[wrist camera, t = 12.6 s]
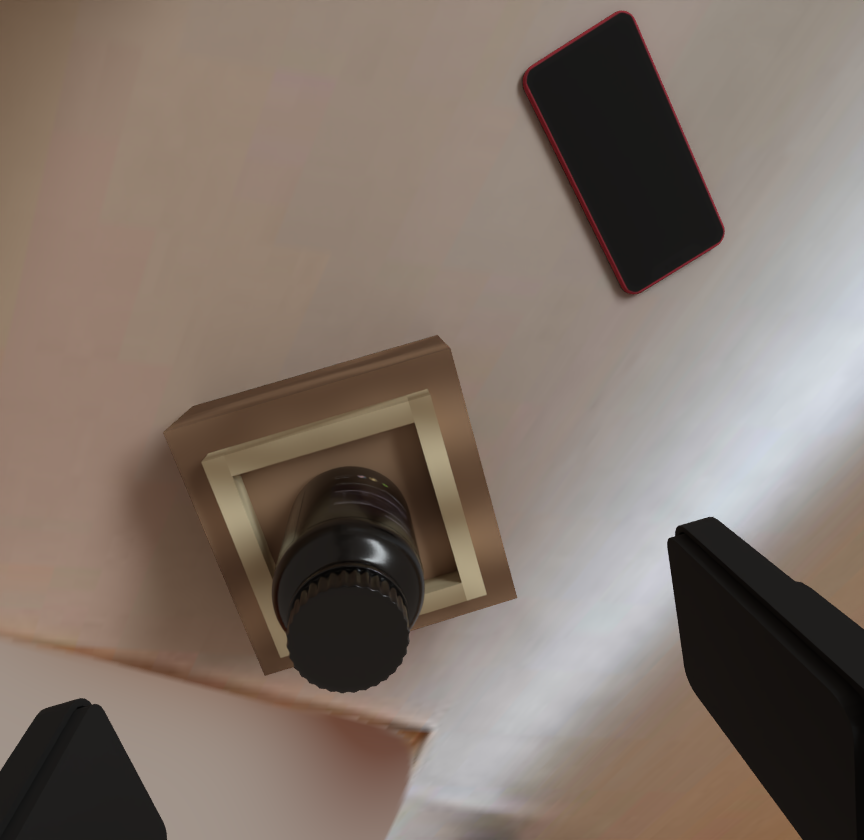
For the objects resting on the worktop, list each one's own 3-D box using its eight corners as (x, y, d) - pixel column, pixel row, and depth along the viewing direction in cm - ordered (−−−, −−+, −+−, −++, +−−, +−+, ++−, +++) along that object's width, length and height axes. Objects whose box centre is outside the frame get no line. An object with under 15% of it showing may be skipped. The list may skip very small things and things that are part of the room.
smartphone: (629, 3, 35) (730, 238, 39) (622, 9, 36) (722, 238, 40) (518, 73, 35) (629, 299, 39) (514, 78, 36) (624, 298, 40)
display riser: (192, 406, 39) (154, 440, 31) (437, 335, 39) (454, 352, 32) (277, 619, 43) (260, 692, 36) (496, 552, 43) (523, 611, 36)
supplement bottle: (385, 586, 36) (396, 737, 25) (274, 552, 35) (231, 694, 24) (429, 484, 35) (461, 592, 24) (314, 444, 34) (289, 538, 22)
